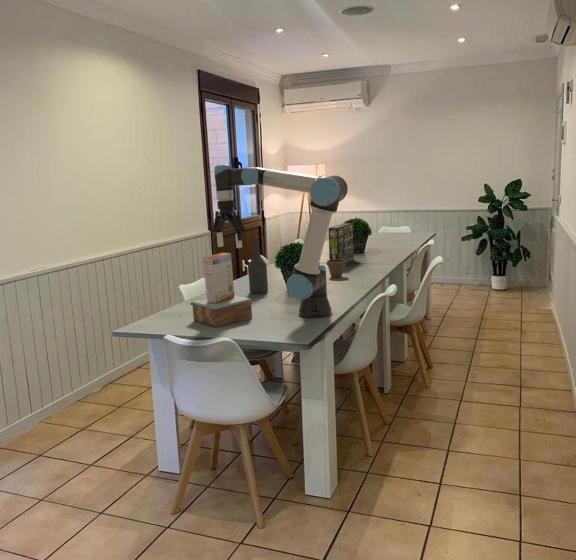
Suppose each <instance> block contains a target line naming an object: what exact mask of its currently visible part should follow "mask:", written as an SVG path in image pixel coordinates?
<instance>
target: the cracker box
mask: <svg viewBox="0 0 576 560" xmlns="http://www.w3.org/2000/svg"><path fill="white" fill-rule="evenodd" d="M202 261H203V271H204V282H205V283H204V284H205V293H206V299H207V302H208V303H219V302H222V301H224V300H227V299H229V298H232V297H235V296H236V295H235V286H234V274H233V273H234V272H233V263H232V262H233V261H232V253H231V252H220V253H215V254H212V255H209V256H205V257H202Z"/></svg>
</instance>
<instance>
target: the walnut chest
mask: <svg viewBox="0 0 576 560" xmlns="http://www.w3.org/2000/svg"><path fill="white" fill-rule="evenodd" d="M190 305H191V306H192V313H193V314H192V315H193V322H195V323H199V324H203V325H206V326H209V327H214V328H221V327H223V326H228V325H232V324H235V323H239V322H243V321H247V320H250V319H252V318H253V312H252V301H248V302H244V303H240V304H236V305H231V306H227V307H223V308H219V309H211V308H207V307H203V306H199V305H195V304H193V302H190Z"/></svg>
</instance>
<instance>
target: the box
mask: <svg viewBox="0 0 576 560" xmlns="http://www.w3.org/2000/svg"><path fill="white" fill-rule="evenodd" d="M328 251H329V252H328V257H329V260H335V259H340V260H345V261H346V262H345V265H344V266H346V265H348V264H350V263H352V262H353V261H354V260H355V259H354V257H355V256H354V252H355V251H354V223H352V222H350V223H349V222H348V223H347V222H346V223H345V222H343V223H341V224H337V225H334V226H331V227H329V228H328ZM352 260H353V261H352ZM349 262H350V263H349ZM347 263H348V264H347Z"/></svg>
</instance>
